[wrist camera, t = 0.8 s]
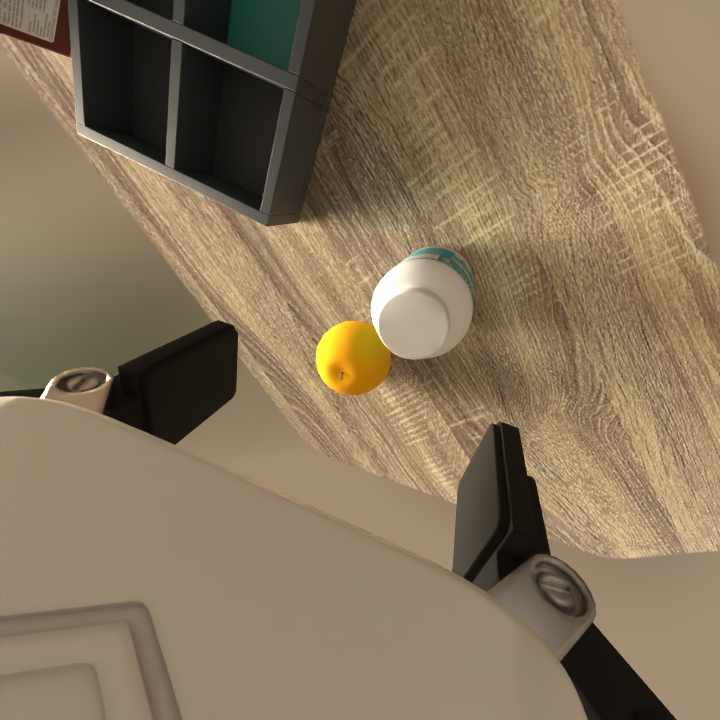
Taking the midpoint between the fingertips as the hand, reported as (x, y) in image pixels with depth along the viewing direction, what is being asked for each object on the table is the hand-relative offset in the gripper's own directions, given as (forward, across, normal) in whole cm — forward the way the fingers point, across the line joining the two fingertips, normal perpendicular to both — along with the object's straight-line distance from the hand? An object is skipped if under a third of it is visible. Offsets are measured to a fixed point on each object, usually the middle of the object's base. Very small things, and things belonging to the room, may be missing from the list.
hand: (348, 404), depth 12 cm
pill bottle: (+25, -1, +1) cm, 25 cm away
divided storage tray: (+24, +24, -13) cm, 36 cm away
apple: (+25, +5, +10) cm, 27 cm away
